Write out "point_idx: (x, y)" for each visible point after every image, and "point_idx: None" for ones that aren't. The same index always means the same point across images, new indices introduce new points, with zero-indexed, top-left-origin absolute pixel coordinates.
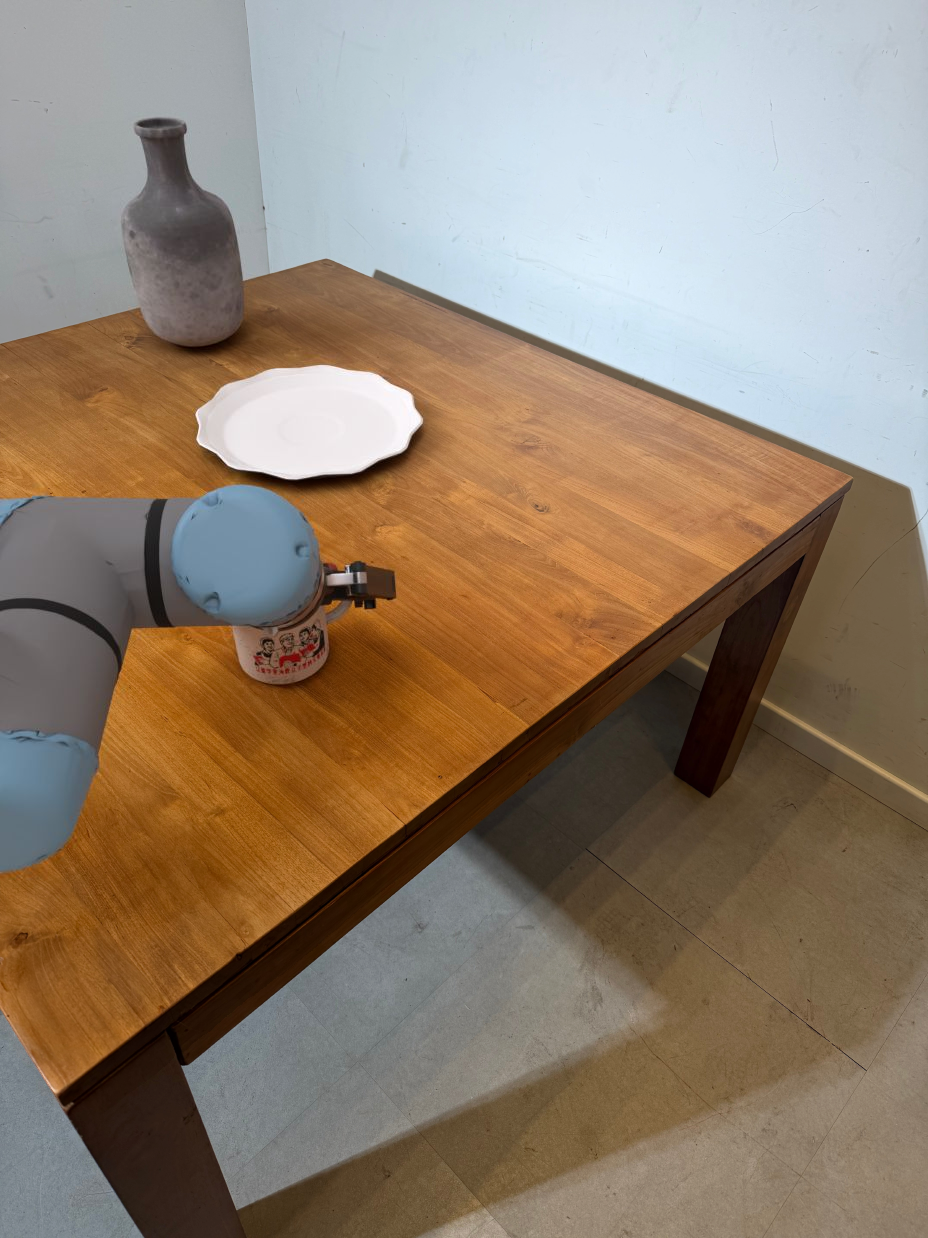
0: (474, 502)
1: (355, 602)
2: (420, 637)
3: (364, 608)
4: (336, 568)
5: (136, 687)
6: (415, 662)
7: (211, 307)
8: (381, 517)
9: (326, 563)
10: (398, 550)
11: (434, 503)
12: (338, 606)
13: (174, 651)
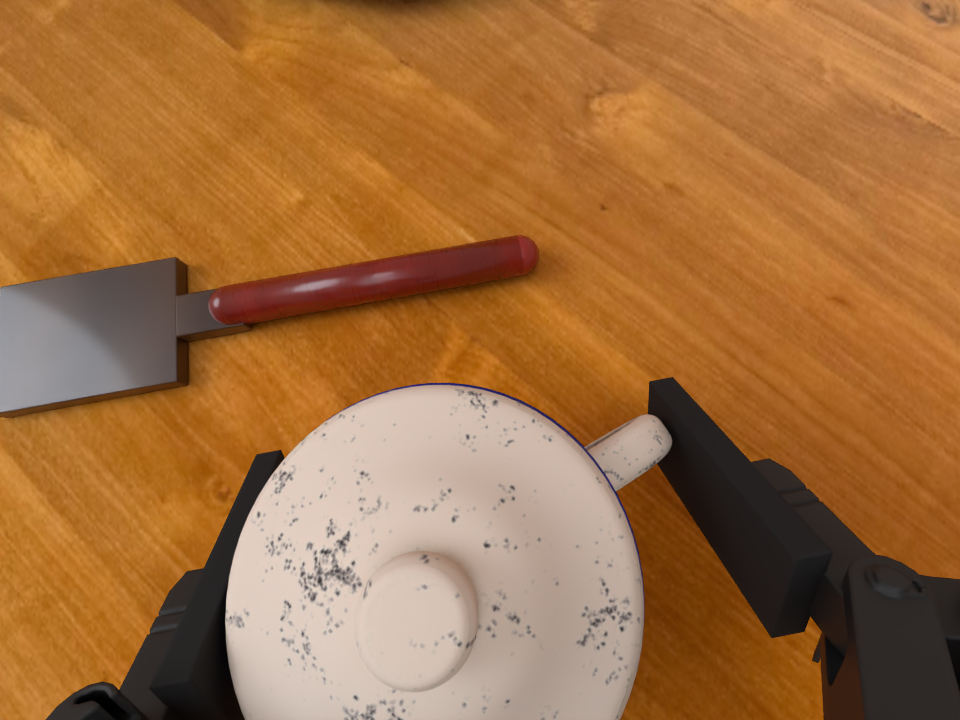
0: (787, 7)
1: (775, 633)
2: (769, 448)
3: (814, 659)
4: (537, 250)
5: (120, 678)
6: None
7: None
8: (594, 69)
9: (513, 242)
10: (653, 166)
11: (700, 18)
12: (597, 441)
13: (196, 541)
